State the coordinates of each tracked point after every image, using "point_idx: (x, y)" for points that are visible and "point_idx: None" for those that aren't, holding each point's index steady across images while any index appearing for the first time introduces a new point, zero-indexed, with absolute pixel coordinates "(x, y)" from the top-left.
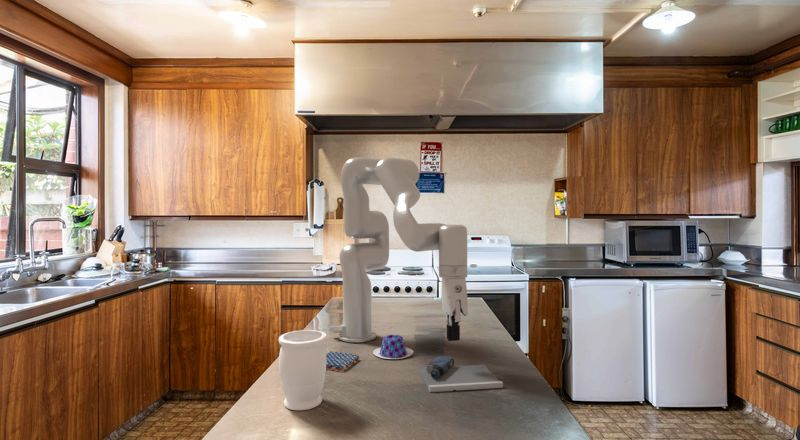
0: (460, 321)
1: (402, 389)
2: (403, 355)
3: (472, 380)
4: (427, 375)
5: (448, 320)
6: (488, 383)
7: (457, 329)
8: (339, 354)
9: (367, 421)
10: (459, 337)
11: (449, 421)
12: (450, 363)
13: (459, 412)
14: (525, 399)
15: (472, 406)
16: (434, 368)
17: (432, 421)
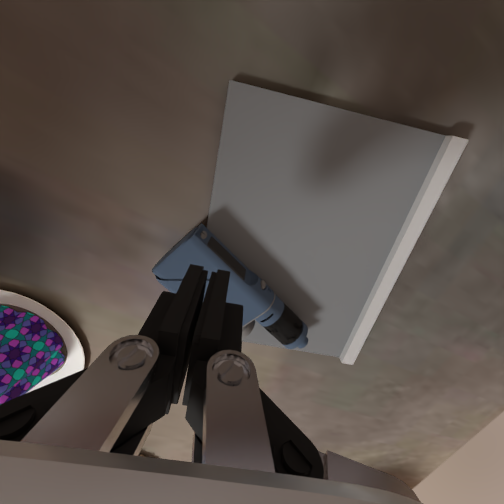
0: (408, 489)
1: (301, 394)
2: (44, 326)
3: (359, 226)
4: (257, 332)
5: (143, 441)
6: (436, 201)
7: (241, 344)
8: None
9: (397, 465)
10: (228, 279)
11: (498, 369)
12: (222, 253)
13: (483, 338)
14: None
15: (482, 300)
16: (276, 337)
17: (473, 393)
